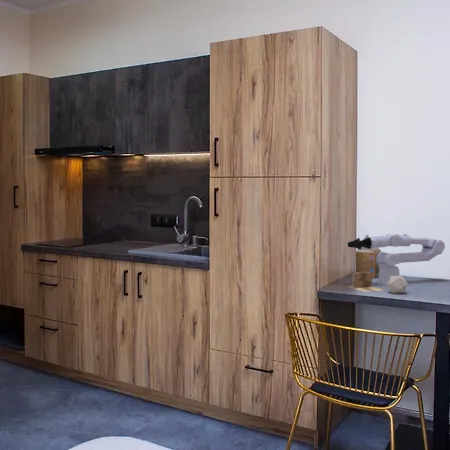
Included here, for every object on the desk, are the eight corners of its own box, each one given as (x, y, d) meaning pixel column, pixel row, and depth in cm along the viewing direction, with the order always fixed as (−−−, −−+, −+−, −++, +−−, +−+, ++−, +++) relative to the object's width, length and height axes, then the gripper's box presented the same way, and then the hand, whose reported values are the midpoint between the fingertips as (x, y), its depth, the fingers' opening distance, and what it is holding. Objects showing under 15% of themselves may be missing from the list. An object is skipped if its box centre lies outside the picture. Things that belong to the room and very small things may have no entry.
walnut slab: (369, 286, 266) (369, 271, 265) (371, 286, 264) (371, 272, 263) (352, 287, 263) (352, 272, 263) (355, 287, 261) (355, 273, 260)
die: (404, 296, 242) (413, 278, 245) (386, 287, 244) (395, 269, 246) (398, 299, 250) (407, 282, 253) (381, 290, 251) (390, 273, 254)
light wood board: (368, 285, 269) (368, 284, 269) (387, 290, 254) (387, 290, 254) (347, 286, 265) (347, 286, 265) (365, 292, 250) (365, 292, 250)
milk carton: (374, 278, 289) (374, 243, 288) (355, 277, 295) (355, 242, 294) (380, 276, 298) (381, 241, 297) (362, 274, 304) (362, 241, 302)
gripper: (367, 234, 277) (343, 237, 274) (383, 233, 263) (358, 235, 260) (369, 248, 277) (345, 250, 273) (384, 247, 263) (360, 250, 259)
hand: (351, 244), depth 267 cm, fingers open, 7 cm apart
